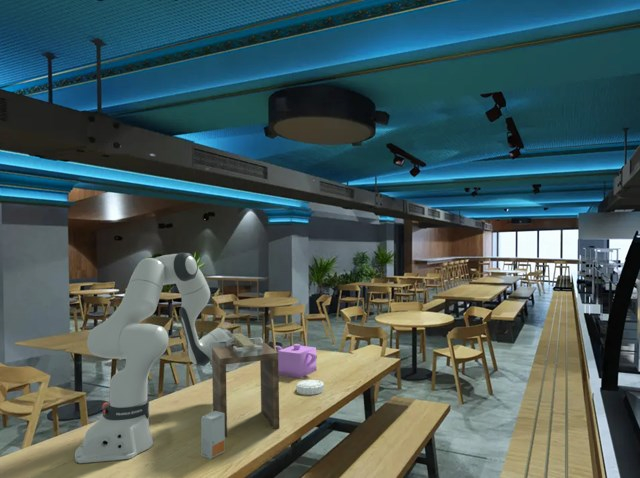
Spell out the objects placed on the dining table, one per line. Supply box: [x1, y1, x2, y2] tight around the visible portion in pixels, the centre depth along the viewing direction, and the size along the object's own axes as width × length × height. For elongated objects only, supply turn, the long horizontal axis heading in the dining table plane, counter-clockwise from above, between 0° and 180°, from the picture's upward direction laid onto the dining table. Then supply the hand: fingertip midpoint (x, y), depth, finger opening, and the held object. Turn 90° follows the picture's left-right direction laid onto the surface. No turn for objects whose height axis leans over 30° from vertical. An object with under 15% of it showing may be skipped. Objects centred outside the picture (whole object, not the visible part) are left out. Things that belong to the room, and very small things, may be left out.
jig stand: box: [211, 342, 280, 438], centre depth 164 cm, size 20×19×29 cm
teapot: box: [274, 343, 318, 379], centre depth 230 cm, size 15×25×14 cm, turn 59°
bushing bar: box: [232, 332, 255, 348], centre depth 166 cm, size 4×22×4 cm, turn 21°
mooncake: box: [295, 379, 325, 396], centre depth 201 cm, size 12×12×4 cm
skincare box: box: [200, 411, 226, 460], centre depth 140 cm, size 6×4×12 cm
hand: (239, 339), depth 172 cm, fingers closed on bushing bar, 4 cm apart
